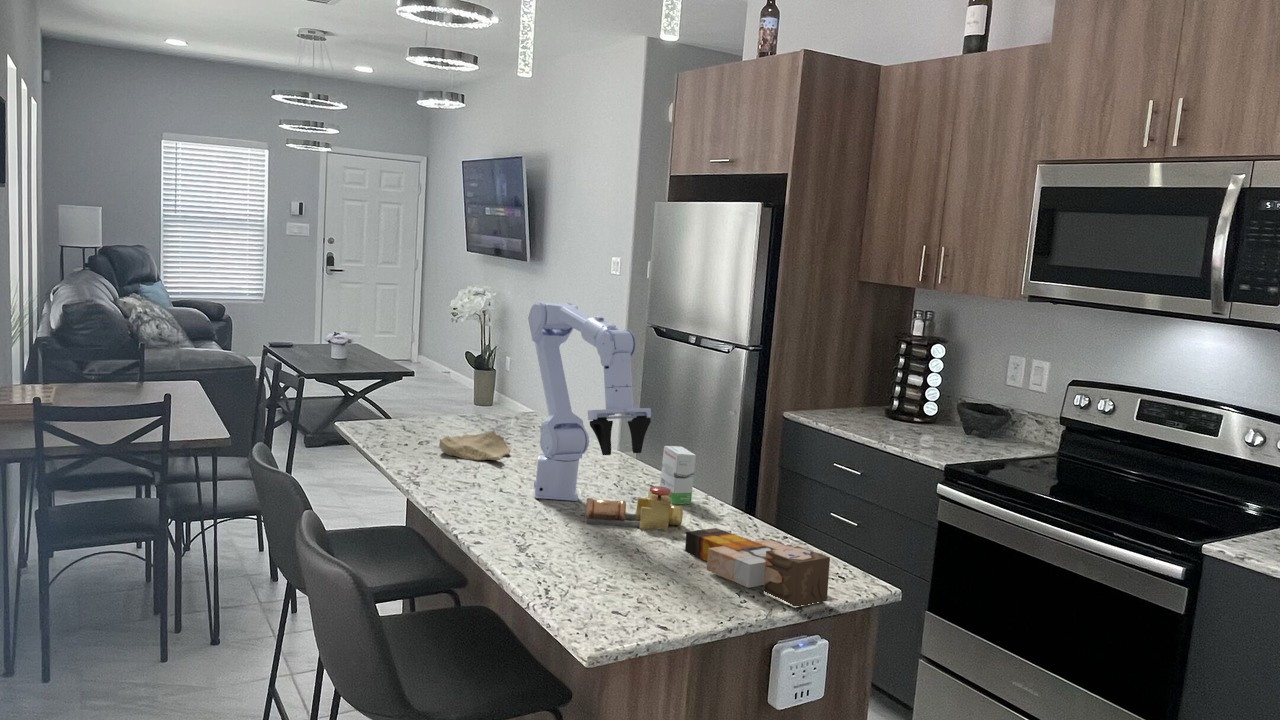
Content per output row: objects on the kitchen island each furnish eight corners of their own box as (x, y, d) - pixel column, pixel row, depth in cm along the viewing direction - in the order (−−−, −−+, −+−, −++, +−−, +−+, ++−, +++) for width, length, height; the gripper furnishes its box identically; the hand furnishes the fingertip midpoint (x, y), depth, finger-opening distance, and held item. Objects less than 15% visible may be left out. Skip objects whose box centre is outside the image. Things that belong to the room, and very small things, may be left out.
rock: (522, 454, 244) (524, 438, 244) (497, 470, 230) (499, 453, 229) (462, 441, 249) (464, 425, 248) (434, 455, 234) (435, 439, 233)
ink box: (691, 504, 214) (697, 454, 213) (672, 504, 212) (678, 454, 211) (676, 493, 222) (682, 445, 221) (657, 493, 220) (663, 445, 219)
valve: (639, 528, 193) (643, 493, 192) (635, 517, 200) (639, 482, 199) (682, 531, 194) (686, 496, 193) (676, 520, 201) (680, 485, 200)
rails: (586, 523, 192) (586, 518, 192) (584, 515, 198) (585, 510, 197) (639, 527, 194) (639, 522, 193) (636, 518, 199) (636, 514, 199)
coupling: (586, 520, 193) (588, 499, 193) (584, 517, 197) (586, 496, 197) (624, 523, 194) (626, 502, 194) (622, 520, 198) (624, 499, 198)
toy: (730, 516, 188) (844, 554, 164) (728, 554, 189) (841, 598, 165) (671, 523, 179) (782, 565, 155) (668, 563, 180) (779, 611, 156)
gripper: (599, 386, 185) (603, 455, 184) (658, 385, 193) (662, 451, 192) (580, 389, 190) (584, 456, 189) (638, 388, 199) (642, 452, 198)
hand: (622, 454), depth 191 cm, fingers open, 7 cm apart
